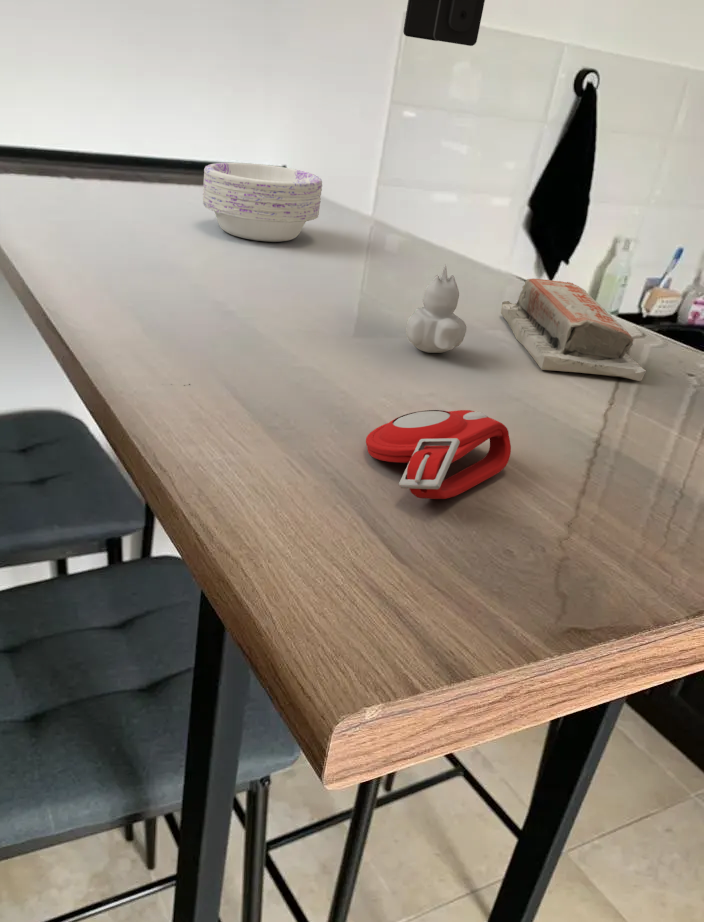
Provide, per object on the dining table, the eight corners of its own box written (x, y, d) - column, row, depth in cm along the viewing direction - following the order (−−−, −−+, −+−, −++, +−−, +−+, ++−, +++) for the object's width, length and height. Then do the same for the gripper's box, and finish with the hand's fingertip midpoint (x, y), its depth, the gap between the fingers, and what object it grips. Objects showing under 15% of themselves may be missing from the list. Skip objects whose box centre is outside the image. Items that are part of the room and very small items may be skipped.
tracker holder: (340, 418, 60) (469, 386, 63) (351, 477, 62) (476, 443, 64) (408, 459, 49) (561, 418, 52) (418, 530, 51) (566, 487, 53)
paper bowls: (192, 217, 118) (195, 155, 114) (298, 225, 122) (305, 166, 119) (211, 244, 105) (215, 176, 101) (329, 252, 110) (338, 187, 106)
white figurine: (444, 341, 83) (461, 258, 79) (473, 366, 78) (493, 278, 74) (392, 340, 82) (407, 254, 78) (418, 365, 76) (436, 275, 72)
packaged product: (507, 270, 92) (596, 281, 93) (496, 314, 95) (583, 325, 96) (553, 320, 77) (659, 334, 78) (539, 372, 79) (643, 384, 80)
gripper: (589, -264, 52) (519, 53, 61) (498, -205, 67) (452, 43, 75) (472, -292, 51) (416, 37, 59) (405, -225, 66) (369, 30, 74)
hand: (436, 40), depth 67 cm, fingers open, 9 cm apart
